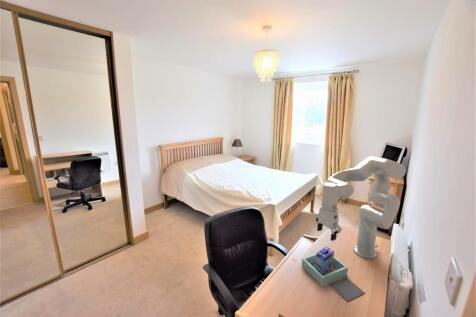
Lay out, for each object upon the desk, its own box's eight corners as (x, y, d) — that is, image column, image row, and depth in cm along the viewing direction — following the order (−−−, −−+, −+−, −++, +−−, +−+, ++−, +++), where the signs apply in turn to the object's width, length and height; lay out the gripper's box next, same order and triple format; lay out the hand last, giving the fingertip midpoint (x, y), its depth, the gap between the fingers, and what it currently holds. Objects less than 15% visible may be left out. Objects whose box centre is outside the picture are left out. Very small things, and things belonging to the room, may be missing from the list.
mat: (346, 277, 114) (346, 276, 114) (364, 293, 105) (364, 292, 105) (329, 284, 110) (329, 284, 110) (347, 302, 100) (347, 301, 100)
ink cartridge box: (323, 277, 115) (325, 254, 112) (314, 271, 119) (315, 249, 116) (332, 269, 121) (335, 247, 117) (324, 263, 125) (325, 242, 122)
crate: (325, 257, 130) (325, 249, 129) (347, 275, 116) (347, 267, 115) (301, 265, 124) (302, 258, 123) (322, 286, 109) (322, 277, 108)
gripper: (348, 211, 104) (344, 242, 108) (322, 198, 120) (319, 225, 124) (337, 214, 102) (333, 245, 105) (311, 201, 117) (309, 228, 121)
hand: (326, 235), depth 115 cm, fingers open, 9 cm apart
